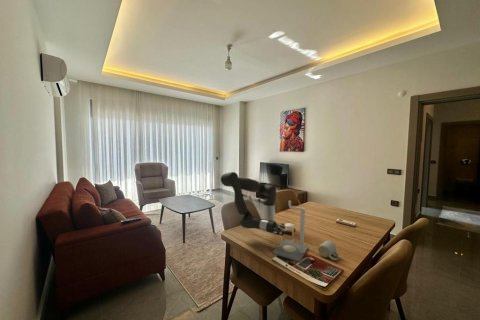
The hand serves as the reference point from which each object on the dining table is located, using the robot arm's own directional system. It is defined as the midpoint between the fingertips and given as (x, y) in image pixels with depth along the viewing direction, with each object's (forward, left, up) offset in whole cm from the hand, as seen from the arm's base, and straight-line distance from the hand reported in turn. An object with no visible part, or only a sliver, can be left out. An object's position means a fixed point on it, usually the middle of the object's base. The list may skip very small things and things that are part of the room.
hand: (293, 232), depth 121 cm
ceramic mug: (-8, +19, -13) cm, 24 cm away
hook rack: (0, -1, -12) cm, 12 cm away
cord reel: (0, -3, -6) cm, 7 cm away
